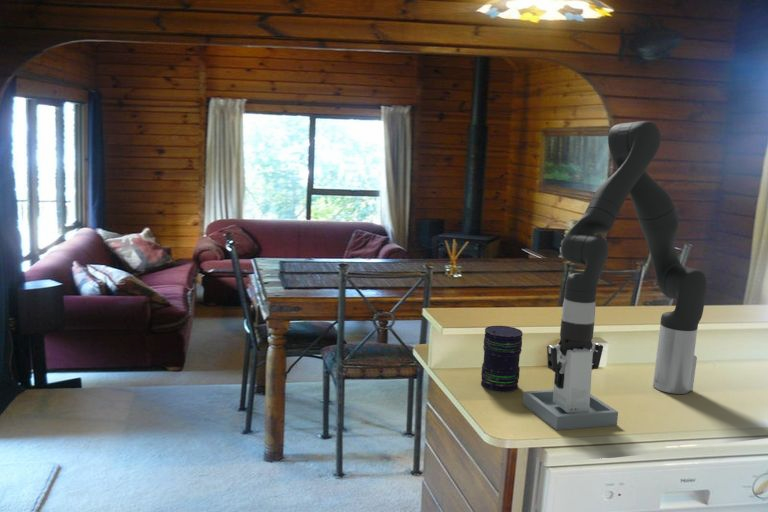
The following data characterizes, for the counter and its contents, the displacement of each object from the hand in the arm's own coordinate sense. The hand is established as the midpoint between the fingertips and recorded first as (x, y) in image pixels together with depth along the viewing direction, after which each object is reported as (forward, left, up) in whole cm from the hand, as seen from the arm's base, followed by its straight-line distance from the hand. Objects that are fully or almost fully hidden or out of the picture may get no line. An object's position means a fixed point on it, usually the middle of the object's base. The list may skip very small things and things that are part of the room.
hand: (571, 386), depth 176 cm
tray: (0, 0, -7) cm, 7 cm away
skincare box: (0, 0, -5) cm, 5 cm away
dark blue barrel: (+8, -21, -7) cm, 24 cm away
